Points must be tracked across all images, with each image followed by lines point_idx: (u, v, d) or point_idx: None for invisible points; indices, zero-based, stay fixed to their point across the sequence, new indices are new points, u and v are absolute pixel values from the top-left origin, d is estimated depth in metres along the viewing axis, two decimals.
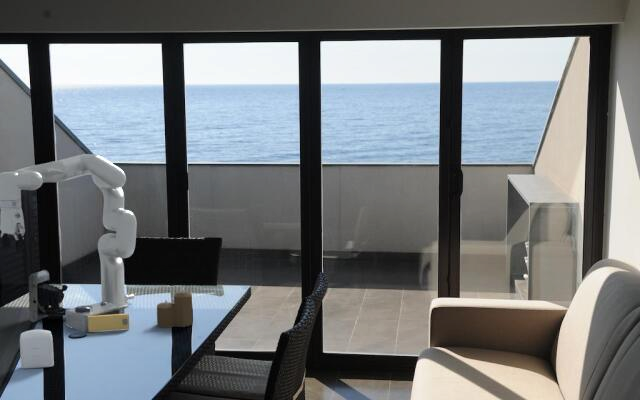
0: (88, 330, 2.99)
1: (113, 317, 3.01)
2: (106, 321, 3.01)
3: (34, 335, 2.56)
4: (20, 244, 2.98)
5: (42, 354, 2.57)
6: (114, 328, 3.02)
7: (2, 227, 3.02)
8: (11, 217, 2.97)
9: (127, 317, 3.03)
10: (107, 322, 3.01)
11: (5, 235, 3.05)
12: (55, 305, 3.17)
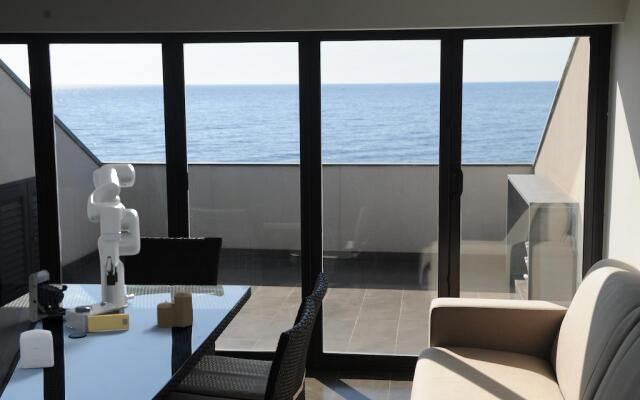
0: (88, 330, 2.99)
1: (113, 317, 3.01)
2: (106, 321, 3.01)
3: (34, 335, 2.56)
4: None
5: (42, 354, 2.57)
6: (114, 328, 3.02)
7: (116, 261, 3.02)
8: None
9: (127, 317, 3.03)
10: (107, 322, 3.01)
11: None
12: (55, 305, 3.17)
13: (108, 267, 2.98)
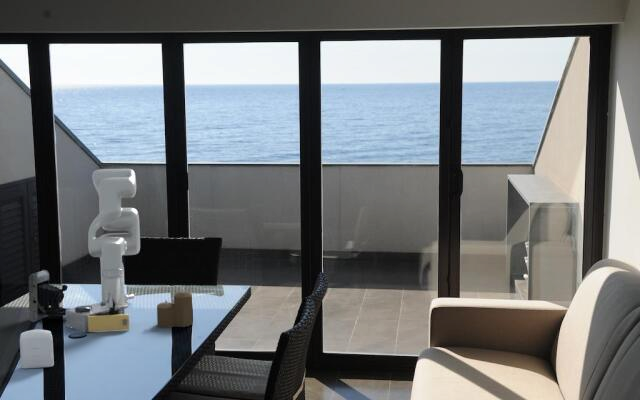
0: (88, 330, 2.99)
1: (112, 318, 3.01)
2: (106, 322, 3.00)
3: (34, 335, 2.56)
4: None
5: (42, 354, 2.57)
6: (114, 329, 3.01)
7: (117, 297, 3.00)
8: None
9: (127, 318, 3.02)
10: (107, 322, 3.00)
11: None
12: (55, 305, 3.17)
13: (110, 305, 2.98)
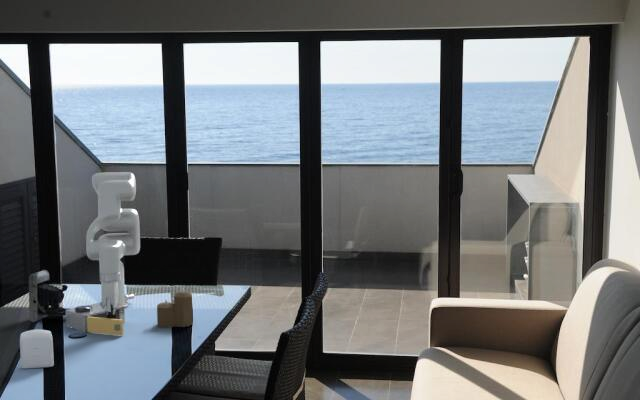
0: (87, 330, 2.99)
1: (107, 321, 2.96)
2: (102, 324, 2.96)
3: (34, 335, 2.56)
4: None
5: (42, 354, 2.57)
6: (108, 332, 2.96)
7: (115, 301, 2.95)
8: None
9: (120, 324, 2.94)
10: (103, 325, 2.96)
11: None
12: (55, 305, 3.17)
13: (108, 310, 2.93)
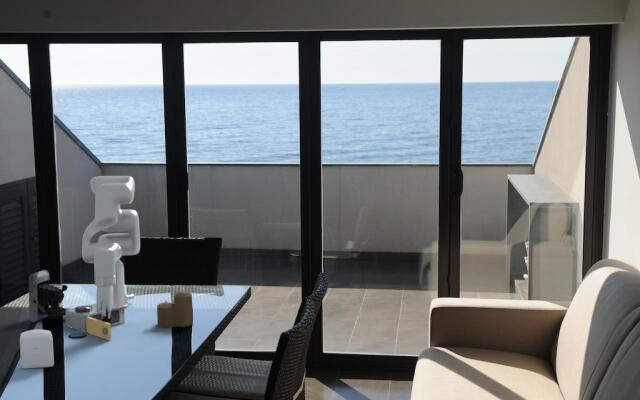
0: (86, 330, 2.99)
1: (99, 324, 2.92)
2: (96, 326, 2.94)
3: (34, 335, 2.56)
4: None
5: (42, 354, 2.57)
6: (100, 335, 2.92)
7: (110, 305, 2.91)
8: None
9: (107, 327, 2.89)
10: (96, 327, 2.94)
11: None
12: (55, 305, 3.17)
13: (103, 314, 2.89)
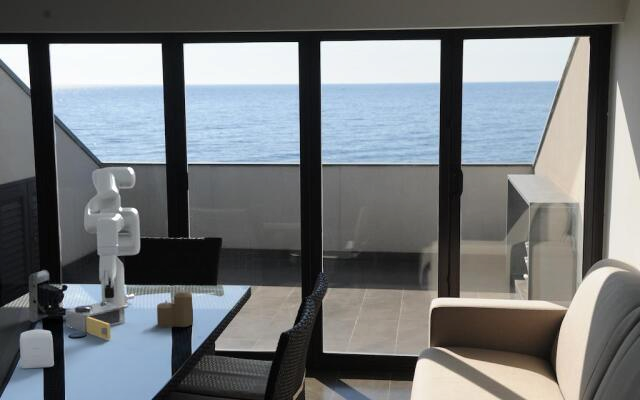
0: (86, 330, 2.99)
1: (99, 324, 2.92)
2: (95, 326, 2.94)
3: (34, 335, 2.56)
4: None
5: (42, 354, 2.57)
6: (99, 335, 2.92)
7: (113, 274, 2.94)
8: None
9: (107, 328, 2.88)
10: (96, 327, 2.94)
11: None
12: (55, 305, 3.17)
13: (106, 283, 2.91)
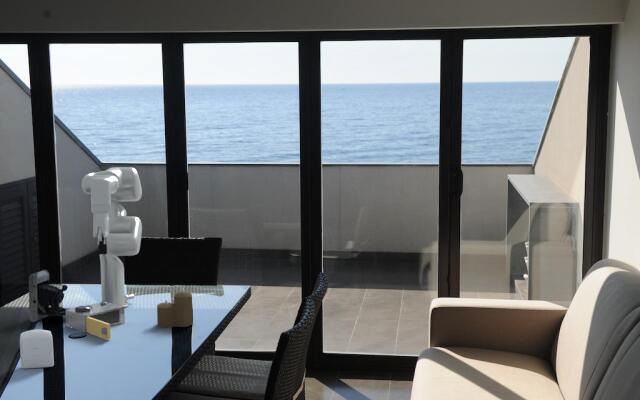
0: (86, 330, 2.99)
1: (99, 324, 2.92)
2: (95, 326, 2.94)
3: (34, 335, 2.56)
4: None
5: (42, 354, 2.57)
6: (99, 335, 2.92)
7: (106, 231, 3.13)
8: None
9: (107, 328, 2.88)
10: (96, 327, 2.94)
11: None
12: (55, 305, 3.17)
13: (99, 239, 3.10)
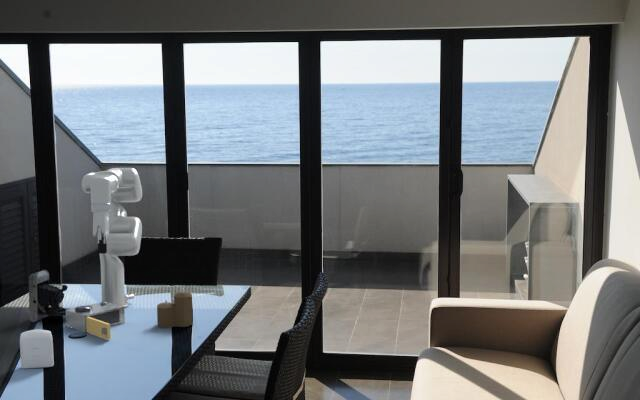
0: (86, 330, 2.99)
1: (99, 324, 2.92)
2: (95, 326, 2.94)
3: (34, 335, 2.56)
4: None
5: (42, 354, 2.57)
6: (99, 335, 2.92)
7: (106, 230, 3.13)
8: None
9: (107, 328, 2.88)
10: (96, 327, 2.94)
11: None
12: (55, 305, 3.17)
13: (99, 238, 3.10)
